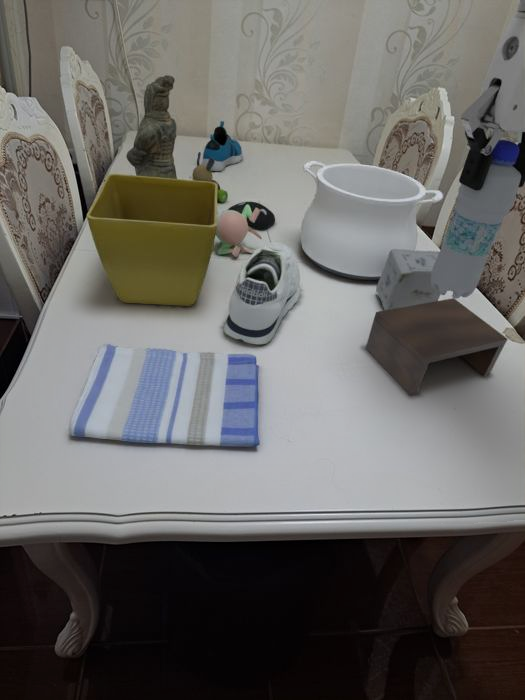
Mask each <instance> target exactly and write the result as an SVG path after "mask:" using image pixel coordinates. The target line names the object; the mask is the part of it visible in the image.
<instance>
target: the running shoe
mask: <svg viewBox="0 0 525 700" xmlns="http://www.w3.org/2000/svg"><path fill="white" fill-rule="evenodd" d="M252 252H253V253H251V255H250V256H249V257H248V258H247V259H246V260H245V262H244V263H243V265H242V266H241V268H240V271H239V274H238V277H237V279H236V282H235V286H234V290H233V291H232V293H231V295H230V299H229V305H228V312H229V313H228V316H227V319H226V321H225V324H224V326H223V327H224V328H223V332H224V333H225V334H226V335H227V336H229V337H231V338H233V339H236V340H242V341H243V342H244V343H247V344H251V345H252V344H253V345H265V344H268V343H269V342H270V341H271V340H272V339H273V338H274V337H275V335H276V333H277V330H278V329H279V327H280V323H281V322H282V320H283V318H284V317H286V315H288V311H290V310H292V309H293V307H294V305H296V304H297V302H298V301H299V299H300V297H301V285H300V281H301V275H300V267H299V263H298V259H297V257H296V254H295V253H294V251H293V250H292V249H291V248H290V247H289V246H288V245H287V244H285V243H283V242H280V241H270V242H268V243H266V244H264V245H263V246H260V247H258V248H257V249H255V250H254V251H252Z"/></svg>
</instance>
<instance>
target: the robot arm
mask: <svg viewBox="0 0 525 700" xmlns="http://www.w3.org/2000/svg"><path fill="white" fill-rule="evenodd" d="M460 121H461V123H462V126H463V129H464V136H465V137H466V141H467V142H466V148H467V149H469V150H468V152H467V155H466V159H465V161H464V164H463V168H462V170H461V173H460V176H459V179H458V182H459V183H460V185H461V184H463V185H465V186H467V187H469V188H471V189H473V190H475V191H477V190H481V188H482V187H483V184H484V181H485V179H486V176H487V174H488V171H489V168H490V166H491V163H492V160H493V157H494V156H492V155H490V153H491V152H492V150H493V149H494V147H495V146H496V144H497V143H498V141H499V140H501V138H502V137H503V135H504V134H505V132H509V133H518V135H517V145H518V146H519V154H518V157H517V159H516V162H515V164H514V165H512V166H513V167H514V168H515V169H516V170H517V171H518V172H519V173H520V174H521V179H520V183H519V186H518V188H523V187H524V185H525V0H519V3H518V6H517V9H516V11H515V15H514V16H513V17H512V18H511V19H510V21H509V23H508V26H507V27H506V29H505V31H504V34H503V36H502V37H501V39H500V41H499V44H498V46H497V49H496V51H495V53H494V55H493V57H492V60H491V62H490V65H489V67H488V70H487V73H486V74H485V78H484V80H483V83H482V85H481V89H480V92H479V95H478V98H477V99H476V100H475V101H473V102H472V103H471V104H470V106H469V107H468V108H467V109H465V110H464V111H463V113H462V114H461V116H460ZM488 130H490V131H491V132H490V134H489V135H488V136H487V134H486V133H487V132H488Z"/></svg>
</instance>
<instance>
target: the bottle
mask: <svg viewBox="0 0 525 700" xmlns="http://www.w3.org/2000/svg"><path fill="white" fill-rule="evenodd" d="M518 154H519V146H518V143H516V142H513V141H511V140H506V139H500V140H499V141H498V143H497V144H496V146H495V147H494V149H493V150H492V152H491V153H490V155H492V156H494V157H493V160H492V163H491V166H490V168H489V171H488V174H487V176H486V179H485V181H484V184H483V187H482V188H481V190H477V191H475V190H473V189H471V188H469V187H467V186H465V185H463V184H461V183H460V186H459V187H458V191H457V196H456V197H455V208H454V211H453V215H452V216H451V219H450V222H449V224H448V225H449V226H448V227H447V230H446V234H445V237H444V239H443V243H442V245H441V248H440V250H439V251H438V252H439V254H438V257H437V259H436V261H435V264H434V266H433V269H432V274H431V285H432V287H433V289H438V288H439V293H440V294H441V295H440V296H445V295H446V294H447V292H452V296H451V298H454V299H456V300H457V299H459V298H461V297H462V298H467V297H469V296H471V295H472V294H473V293H474V291H475V290H476V288H477V287H478V285H479V283H480V280H481V278H482V275H483V272H484V269H485V267H486V263H487V260H488V257H489V255H490V252H491V251H492V248H493V246H494V243H495V241H496V238H497V236H498V234H499V232H500V229H501V226H502V224H503V222H504V219H505V217H506V216H507V215H509V214H510V212H511V208H512V206H513V205H514V204H515V202H516V197H517V193H518V189H519V187H518V186H519V183H520V179H521V174H520V173H519V172H518V171H517V170H516V169H515V168H514V167H513V166H512V165H514V164H515V162H516V159H517V157H518Z"/></svg>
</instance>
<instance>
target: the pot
mask: <svg viewBox="0 0 525 700" xmlns="http://www.w3.org/2000/svg"><path fill="white" fill-rule="evenodd" d="M312 167H320V168H319V169H318V170H317V171H316V174H315V173H314V172H313V171H311V168H312ZM302 169H303V172H306V173H307V174H309V175H310V176H311V177H312V178H313V180H314V182H315V185H316V189H315V190H316V191H315V195H314V198H313V200H312V201H311V203H310V205H309V206H308V208H307V210H306V211H305V213H304V215H303V217H302V220H301V226H300V232H299V233H300V234H299V237H300V244H301V247H302V250H303V251H304V253H305V254H306V256H307V257H308V259H309V260H310V262H312V263H313V264H315V265H316V266H318V267H319V268H321V269H322V270H324V271H326V272H329V273H331V274H334V275H335V276H340V277H343V278H347V279H352V280H359V281H360V280H362V281H376V280H380V277H381V275H382V272H383V270H384V267H385V264H386V261H387V258H388V255H389V253H390V251H391V250H392V249H399V250H414V251H416V249H417V244H418V237H419V235H418V234H419V233H418V224H417V211H418V207H419V205H423V204H429V203H430V204H436V203H439V202H441V201H442V200H443V198H444V193H443V192H442V191H441V190H438V189H437V190H436V189H435V190H434V189H428V190H427V189H426V187H425V186H424V185H423V184H422V183H421V182H419V181H418V180H416V179H414V178H413V177H411V176H409V175H406V174H404V173H401V172H399V171H396V170H393V169H388V168H385V167H380V166H374V165H370V164H369V165H368V164H361V163H360V164H359V163H334V164H328V165H326V164H325V163H323V162H318V160H309V161H307V162H305V163H304V164H303V166H302ZM429 194H432V195H434V196H433V197H430V198H429V199H424V198H425V197H426V195H429Z"/></svg>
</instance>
